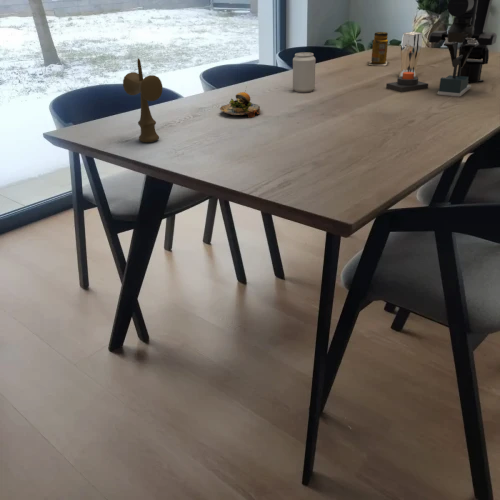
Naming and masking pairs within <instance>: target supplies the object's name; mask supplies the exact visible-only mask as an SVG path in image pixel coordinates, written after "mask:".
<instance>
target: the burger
mask: <svg viewBox="0 0 500 500" xmlns="http://www.w3.org/2000/svg"><path fill="white" fill-rule="evenodd" d="M245 87H246V88H247V86H245ZM260 108H261V106H260V105H259V104H256V103H252V102H251V96H250V94H248V93H247V92H246V91H240V92H238V93H236V94H235V100H234V98H233V97H231V98H230V101H229V102H228V104H224V105H222V106H220V107H219V110H220V111H221V112H222V113H225V114H227V115H232V116H244V115H247V117H248V119H250V118H254V117H255V115H256V114H257V115H260V114H261V109H260Z"/></svg>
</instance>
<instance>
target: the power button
mask: <svg viewBox="0 0 500 500" xmlns="http://www.w3.org/2000/svg"><path fill="white" fill-rule="evenodd" d="M402 79H414V73H413V72H403V77H402Z"/></svg>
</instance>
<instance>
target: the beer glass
mask: <svg viewBox="0 0 500 500" xmlns="http://www.w3.org/2000/svg"><path fill="white" fill-rule="evenodd" d="M422 42H423V32H419V31H406V32H402V38H401V44H400V62H401V66H400V72H399V75H398V77H401V76H403V72H413V73H414V77H417V65H418V62H419V59H420V58H419V57H420V54H421V51H422Z"/></svg>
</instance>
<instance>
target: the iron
mask: <svg viewBox="0 0 500 500" xmlns="http://www.w3.org/2000/svg"><path fill="white" fill-rule="evenodd" d="M462 58H463V55H460V56H459V55H458V56H457V57H456V58H455V59H454V60H453V61H451V66H452V65H453V66H454V67H453V66H452V67H453V70H452V71H453V72H452V75H450V74H449V75H448V76H446V77H443V76H442V77H440V79H439V86H438V87H439V88H438V91H437V95H439V96H449V97H459V98H460V97H462V96H463V95H464V94H465V93H466V92H468V91H469V90H470V89H472V88H471V87H472V85H471V84H469V83H468V77H465V76H460V74H461V68H462V67H461V62H462Z"/></svg>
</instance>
